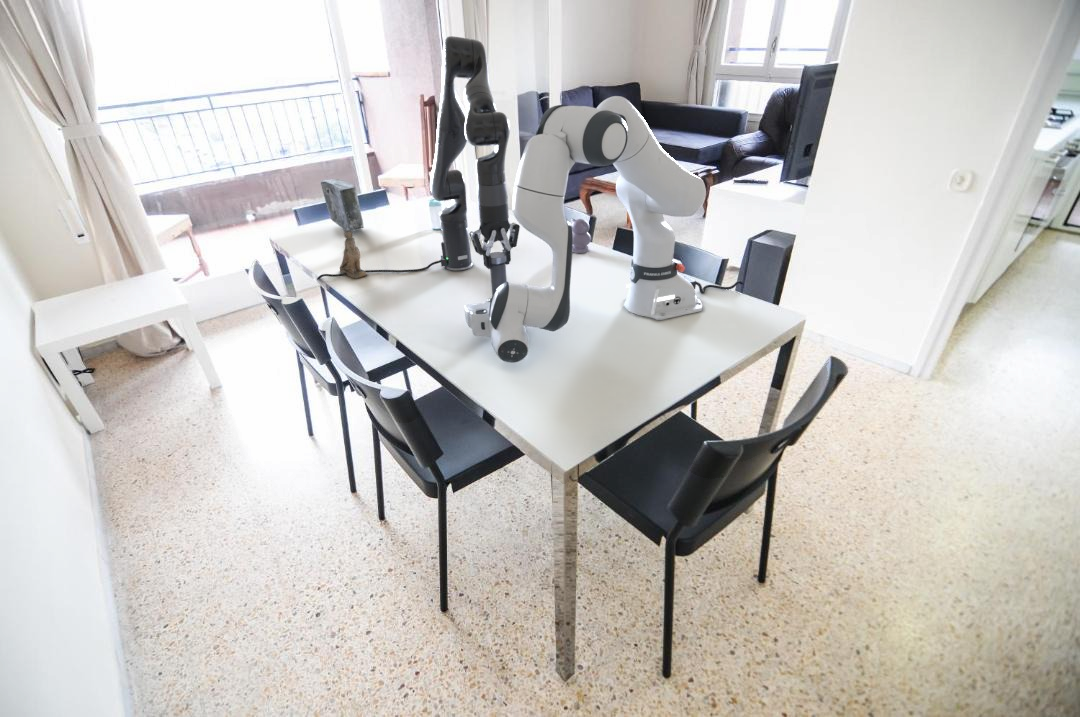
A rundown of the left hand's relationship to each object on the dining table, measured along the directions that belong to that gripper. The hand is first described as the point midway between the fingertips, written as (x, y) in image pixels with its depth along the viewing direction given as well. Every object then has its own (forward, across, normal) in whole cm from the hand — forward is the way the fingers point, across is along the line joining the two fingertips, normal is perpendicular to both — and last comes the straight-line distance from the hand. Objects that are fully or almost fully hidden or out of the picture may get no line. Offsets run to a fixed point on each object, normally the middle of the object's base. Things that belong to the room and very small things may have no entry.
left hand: (497, 265), depth 133 cm
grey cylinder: (+17, 0, 0) cm, 17 cm away
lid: (-3, 0, 0) cm, 3 cm away
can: (+17, -22, -98) cm, 102 cm away
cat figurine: (+17, -54, -35) cm, 66 cm away
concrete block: (+17, +11, -123) cm, 125 cm away
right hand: (+10, 0, -1) cm, 10 cm away
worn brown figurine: (+17, +25, -66) cm, 72 cm away
